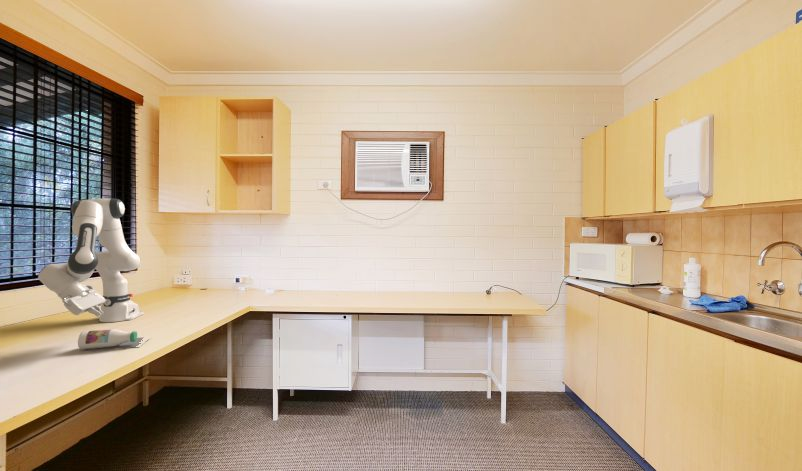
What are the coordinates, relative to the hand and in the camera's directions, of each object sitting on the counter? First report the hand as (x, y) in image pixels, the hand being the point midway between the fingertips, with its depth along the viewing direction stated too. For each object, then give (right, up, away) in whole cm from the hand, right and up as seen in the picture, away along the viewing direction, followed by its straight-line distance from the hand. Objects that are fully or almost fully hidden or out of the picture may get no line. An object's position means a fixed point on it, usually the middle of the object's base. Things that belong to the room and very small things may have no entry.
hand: (100, 314), depth 162 cm
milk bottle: (-4, -10, -6) cm, 12 cm away
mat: (+7, -14, +3) cm, 16 cm away
